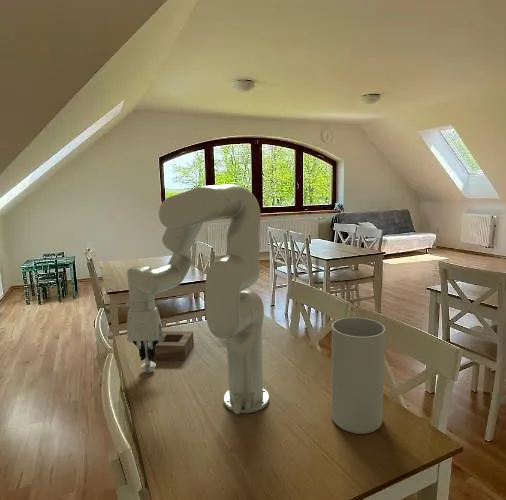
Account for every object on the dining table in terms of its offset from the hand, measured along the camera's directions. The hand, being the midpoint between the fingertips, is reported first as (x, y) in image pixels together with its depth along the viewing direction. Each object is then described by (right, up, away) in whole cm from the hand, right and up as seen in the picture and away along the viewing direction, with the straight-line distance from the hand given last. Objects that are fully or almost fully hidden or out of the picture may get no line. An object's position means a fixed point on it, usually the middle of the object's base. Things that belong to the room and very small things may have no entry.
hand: (147, 358), depth 125 cm
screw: (0, -5, +1) cm, 5 cm away
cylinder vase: (+61, -8, -27) cm, 67 cm away
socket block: (+6, -2, +14) cm, 15 cm away
